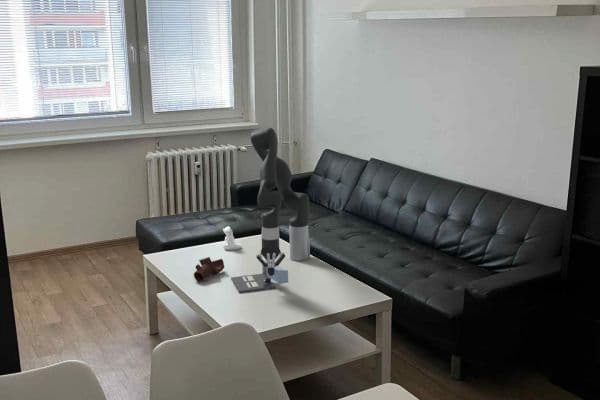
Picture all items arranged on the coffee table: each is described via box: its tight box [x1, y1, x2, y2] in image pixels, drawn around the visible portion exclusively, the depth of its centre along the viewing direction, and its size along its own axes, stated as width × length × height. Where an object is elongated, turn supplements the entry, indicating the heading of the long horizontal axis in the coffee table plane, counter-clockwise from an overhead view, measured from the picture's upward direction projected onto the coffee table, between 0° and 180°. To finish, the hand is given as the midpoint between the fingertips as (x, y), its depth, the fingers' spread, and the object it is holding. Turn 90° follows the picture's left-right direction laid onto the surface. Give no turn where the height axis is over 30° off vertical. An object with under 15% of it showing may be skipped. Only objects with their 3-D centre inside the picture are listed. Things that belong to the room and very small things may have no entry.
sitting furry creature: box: [222, 226, 243, 251], centre depth 360 cm, size 10×9×12 cm
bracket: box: [193, 256, 225, 283], centre depth 320 cm, size 6×17×10 cm, turn 153°
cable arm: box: [261, 259, 289, 285], centre depth 305 cm, size 17×5×6 cm, turn 30°
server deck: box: [230, 273, 276, 294], centre depth 309 cm, size 16×18×4 cm
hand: (270, 275), depth 299 cm, fingers closed
